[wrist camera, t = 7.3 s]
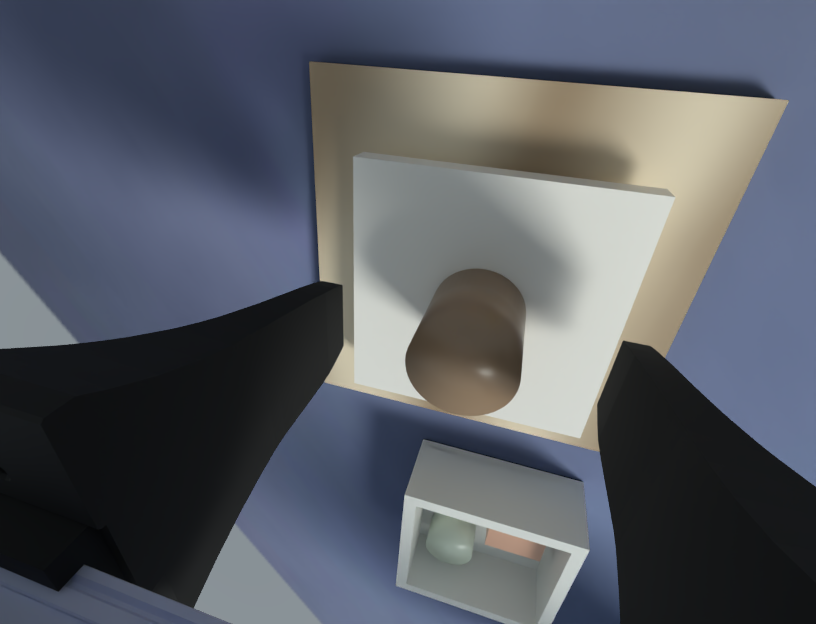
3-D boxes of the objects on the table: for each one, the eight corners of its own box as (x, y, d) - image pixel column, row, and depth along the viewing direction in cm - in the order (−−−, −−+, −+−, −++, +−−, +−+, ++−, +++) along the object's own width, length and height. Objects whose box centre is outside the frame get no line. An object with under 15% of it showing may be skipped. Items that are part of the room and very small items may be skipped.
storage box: (583, 482, 18) (589, 549, 15) (544, 570, 21) (544, 637, 19) (423, 439, 19) (404, 494, 16) (412, 529, 23) (395, 585, 20)
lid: (659, 182, 11) (721, 240, 7) (576, 406, 15) (587, 519, 11) (373, 147, 13) (298, 180, 9) (369, 358, 17) (317, 443, 13)
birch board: (776, 99, 10) (789, 100, 9) (615, 444, 16) (617, 456, 16) (318, 61, 12) (309, 61, 12) (330, 374, 19) (324, 382, 18)
